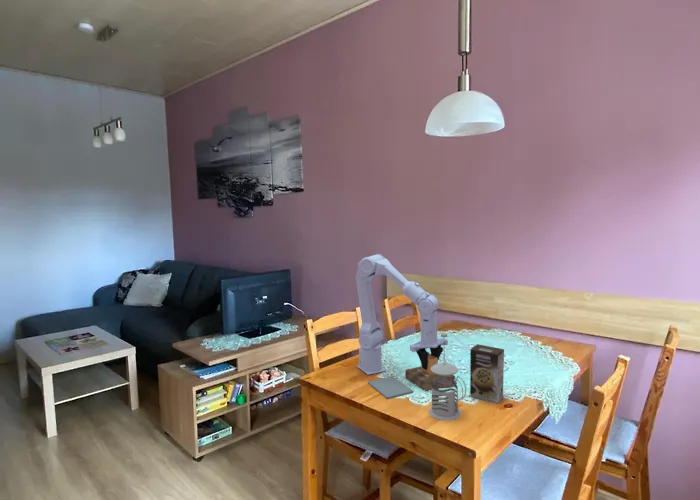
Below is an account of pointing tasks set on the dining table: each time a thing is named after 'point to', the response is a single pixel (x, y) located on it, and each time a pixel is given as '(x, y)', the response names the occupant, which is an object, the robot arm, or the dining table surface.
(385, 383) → the mat
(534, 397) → the dining table surface
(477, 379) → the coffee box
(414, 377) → the brown wooden tray
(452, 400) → the french press
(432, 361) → the orange brown block
